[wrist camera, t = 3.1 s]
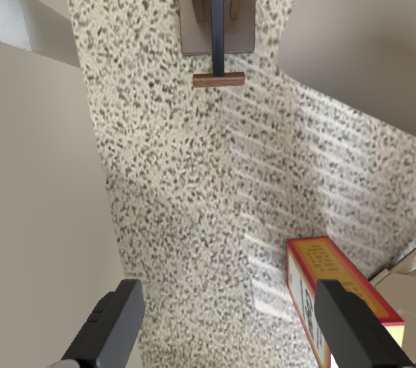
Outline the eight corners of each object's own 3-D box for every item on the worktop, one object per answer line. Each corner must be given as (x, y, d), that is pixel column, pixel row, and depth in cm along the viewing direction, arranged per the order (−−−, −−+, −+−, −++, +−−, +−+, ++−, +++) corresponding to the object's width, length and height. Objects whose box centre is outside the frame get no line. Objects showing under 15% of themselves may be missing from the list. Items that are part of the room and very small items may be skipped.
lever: (242, 83, 23) (245, 87, 21) (194, 85, 24) (192, 89, 22) (248, -88, 17) (252, -106, 15) (182, -83, 17) (178, -99, 15)
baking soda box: (326, 284, 39) (397, 396, 23) (287, 287, 39) (331, 398, 24) (327, 235, 36) (408, 325, 21) (285, 239, 36) (334, 329, 21)
